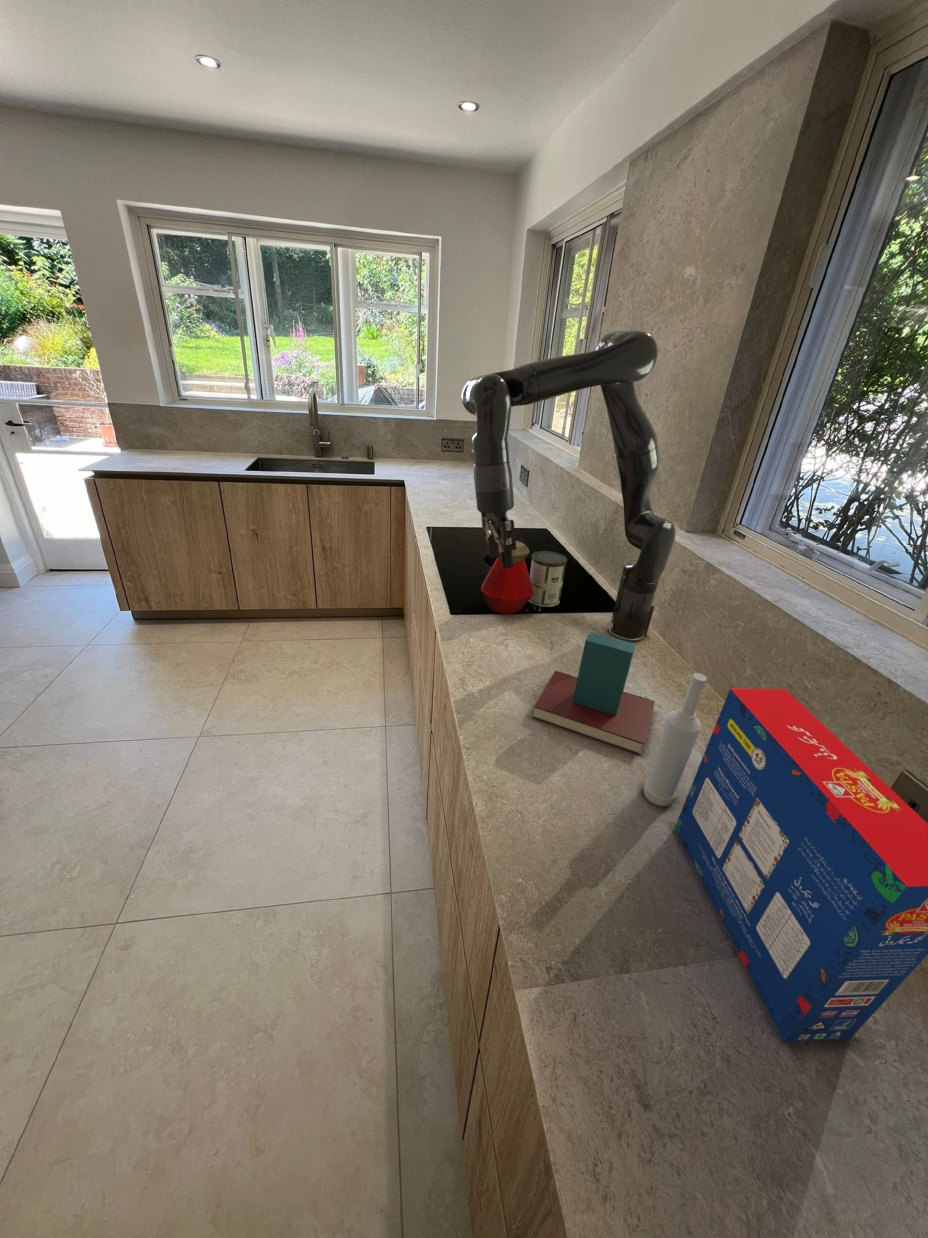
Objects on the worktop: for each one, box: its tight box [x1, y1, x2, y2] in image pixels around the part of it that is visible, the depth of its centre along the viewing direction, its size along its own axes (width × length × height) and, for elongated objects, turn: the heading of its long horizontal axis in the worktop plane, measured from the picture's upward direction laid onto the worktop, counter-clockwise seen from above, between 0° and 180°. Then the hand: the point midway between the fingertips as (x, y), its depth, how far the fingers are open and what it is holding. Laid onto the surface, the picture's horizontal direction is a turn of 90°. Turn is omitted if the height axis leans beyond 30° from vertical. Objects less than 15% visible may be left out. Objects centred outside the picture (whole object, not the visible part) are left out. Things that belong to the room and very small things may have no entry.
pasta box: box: [674, 687, 928, 1043], centre depth 61 cm, size 28×8×28 cm, turn 4°
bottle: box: [643, 672, 708, 807], centre depth 80 cm, size 5×5×25 cm
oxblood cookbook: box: [532, 670, 656, 756], centre depth 103 cm, size 22×15×3 cm
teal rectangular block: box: [572, 631, 637, 716], centre depth 99 cm, size 9×4×15 cm, turn 64°
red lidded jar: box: [480, 540, 533, 615], centre depth 141 cm, size 16×14×20 cm
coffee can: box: [528, 550, 568, 608], centre depth 149 cm, size 10×10×14 cm
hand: (500, 562), depth 106 cm, fingers open, 8 cm apart
